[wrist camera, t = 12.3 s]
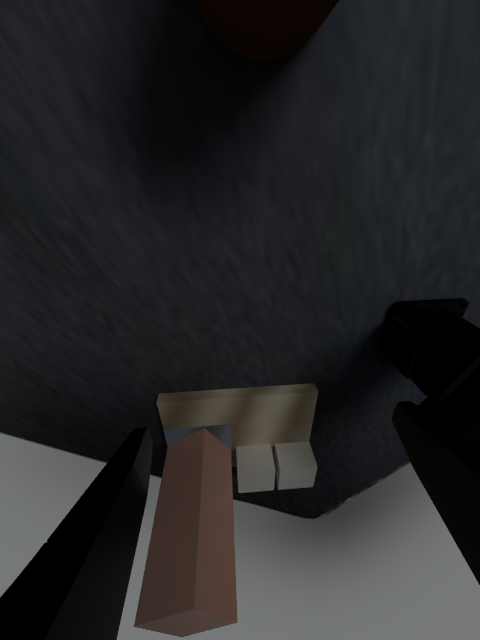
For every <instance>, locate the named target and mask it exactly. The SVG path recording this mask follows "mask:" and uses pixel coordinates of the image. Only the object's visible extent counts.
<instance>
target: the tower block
mask: <svg viewBox="0 0 480 640" xmlns="http://www.w3.org/2000/svg"><path fill="white" fill-rule="evenodd" d="M233 623H237V601H236V576H235V548H234V520H233V492H232V465H231V450H230V449H229V448H227V447H226V446H225V445H224V444H223V443H222V442H220V441H219V440H218V439H217V438H216V437H215V436H213V435H212V434H211V433H210V432H209V431H208V430H206V429H205V428H204V429H202V430H200V431H198V432H196V433H194V434H192V435H189V436H187V437H185V438H183V439H181V440H179V441H177V442H175V443H173V444H171V445H169V446H168V448H167V453H166V459H165V464H164V469H163V475H162V480H161V486H160V491H159V496H158V501H157V507H156V512H155V518H154V523H153V528H152V534H151V539H150V545H149V550H148V555H147V561H146V566H145V571H144V576H143V582H142V587H141V592H140V598H139V603H138V608H137V614H136V619H135V624H134V627H138V628H142V629H147V630H151V631H156V632H161V633H165V634H170V635H175V636H179V637H184V636H188V635H192V634H195V633H199V632H203V631H206V630H210V629H214V628H218V627H222V626H226V625H230V624H233Z"/></svg>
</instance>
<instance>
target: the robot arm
mask: <svg viewBox="0 0 480 640" xmlns="http://www.w3.org/2000/svg"><path fill="white" fill-rule="evenodd" d="M468 304H469V302H468V301H467V300H465V299H463V298H456V299H437V300H419V301H400V302H397V303H395V304H394V306H393V308H392V311H391V314H390V317H389V320H388V324H387V326H386V329H385V332H384V336H383V339H382V342H381V345H380V349H379V352H378V355H377V359H378V360H379V362H381V363H389V362H392V363H393V364H394V365H395V366H396V367H397V368H398V369H399V371H400V372H401V373H402V374H403V375H404V376H405V377H406V378H410V379H411V380H412V381H413V382H414V383H415V384H416V385H417V387H418V388H419V389H420V390H421V391H422V392H423V393H424V394H425V395H426V396H428V397H427V398H426V399H425V400H424V401H423V402H422V403H421V404H420V405H416V404H414V403H413V402H410V401H403V402H398V403H397V405H396V407H395V410H394V412H393V415H392V422H393V425H394V427H395V429H396V431H397V433H398V436H399V438H400V440H401V442H402V445H403V447H404V449H405V451H406V454H407V456H408V458H409V460H410V462H411V464H412V466H413V468H414V470H415V472H416V474H417V475H418V477H419V479H420V481H421V482H422V484H423V486H424V488H425V489H426V491H427V493H428V495H429V496H430V498H431V500H432V501H433V504H434V505H435V507H436V509H437V511H438V512H439V514H440V516H441V518H442V519H443V521H444V523H445V524H446V526H447V528H448V530H449V532H450V534H451V535H452V537H453V539H454V541H455V542H456V544H457V546H458V548H459V549H460V551H461V553H462V555H463V557H464V558H465V560H466V562H467V563H468V565H469V567H470V569H471V570H472V572H473V574H474V576H475V578H476V579H477V581H478V583H479V585H480V328H478V327H476V326H475V325H473V324H472V323H470V322H468V321H467V320H465V319H464V318H462V317H463V315H464V313H465V311H466V309H467V307H468ZM399 307H401V308H399ZM398 308H399V309H398ZM152 450H153V442H152V439H151V436H150V433H149V430H148V428H146V427H141V428H135V429H134V430H133V431H132V432H131V433H130V435H129V436H128V437H127V439H126V440H125V441H124V442H123V444H122V445H121V446H120V448H119V449H118V450H117V451H116V453H115V454H114V455H113V456H112V458H111V459H110V460H109V462H108V463H107V464H106V466H105V467H104V468H103V469H102V471H101V472H100V473H99V474H98V476H97V477H96V478H95V479H94V481H93V482H92V483H91V485H90V486H89V487H88V489H87V490H86V491H85V492H84V494H83V495H82V496H81V497H80V499H79V500H78V501H77V503H76V504H75V505H74V506H73V508H72V509H71V510H70V512H69V513H68V514H67V515H66V517H65V518H64V519H63V520H62V522H61V523H60V524H59V526H58V527H57V528H56V530H55V531H54V532H53V533H52V535H51V536H50V537H49V538H48V540H47V543H44V545H43V546H42V547H41V548H40V550H39V551H38V552H37V553H36V555H35V556H34V557H33V559H32V560H31V561H30V562H29V564H28V565H27V566H26V567H25V569H24V570H23V571H22V572H21V574H20V575H19V576H18V577H17V578H16V580H15V581H14V582H13V583H12V585H11V586H10V587H9V588H8V589H7V590H6V592H5V593H4V594H3V595H2V596H1V597H0V640H116V639H117V635H118V630H119V625H120V620H121V616H122V611H123V607H124V602H125V598H126V593H127V588H128V584H129V579H130V574H131V570H132V565H133V560H134V556H135V551H136V546H137V542H138V537H139V532H140V528H141V523H142V519H143V514H144V509H145V505H146V499H147V494H148V487H149V477H150V468H151V459H152Z"/></svg>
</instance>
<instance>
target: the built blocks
mask: <svg viewBox="0 0 480 640" xmlns="http://www.w3.org/2000/svg"><path fill="white" fill-rule="evenodd" d="M236 455H237V474H238V492H239V493H246V492H258V491H270V490H274V482H275V475H276V480H277V486H278V490H282V489H294V488H305V487H313V485H314V480H315V476H316V472H317V464H316V461H315V458H314V455H313V451H312V448H311V445H310V442H309V441H305V442H292V443H279V444H275V451H274V460H273V454H272V449H271V444H266V445H252V446H239V447H236Z"/></svg>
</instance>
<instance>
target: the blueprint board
mask: <svg viewBox="0 0 480 640" xmlns="http://www.w3.org/2000/svg"><path fill="white" fill-rule="evenodd" d="M317 396H318V390H317V388H316V386H315V383H311V384H295V385H280V386H265V387H250V388H235V389H220V390H205V391H190V392H175V393H159V395H158V399H157V407H158V410H159V414H160V417H161V421H162V425H163V428H164V430H163V431H164V435H165V439H166V442H167V446H169V445H171V444H173V443H175V442H177V441H179V440H181V439H183V438H185V437H187V436H189V435H192V434H194V433H196V432H198V431H200V430H202V429H204V428H205V429H206V430H208V431H209V432H210V433H211V434H212V435H213V436H215V437H216V438H217V439H218V440H219V441H220V442H222V443H223V444H224V445H225V446H226V447H227V448H229V449H230V450H231V465H232V467H237V455H236V447H239V446H252V445H266V444H271V449H272V454H273V460H274V451H275V444H279V443H292V442H305V441H309V440H310V434H311V429H312V423H313V418H314V412H315V407H316V401H317Z"/></svg>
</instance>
